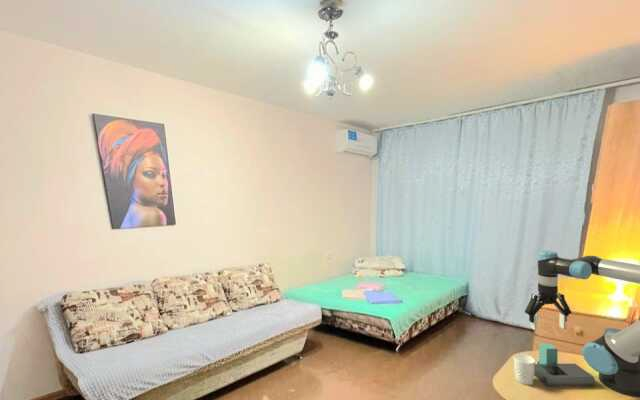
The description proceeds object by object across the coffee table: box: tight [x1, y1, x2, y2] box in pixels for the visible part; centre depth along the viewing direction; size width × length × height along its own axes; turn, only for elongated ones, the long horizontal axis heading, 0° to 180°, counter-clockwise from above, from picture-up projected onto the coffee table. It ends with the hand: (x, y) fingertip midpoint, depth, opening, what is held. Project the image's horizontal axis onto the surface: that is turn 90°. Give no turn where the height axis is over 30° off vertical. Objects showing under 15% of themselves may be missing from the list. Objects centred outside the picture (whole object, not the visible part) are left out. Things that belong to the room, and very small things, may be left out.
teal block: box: [538, 342, 558, 364], centre depth 145 cm, size 5×5×10 cm
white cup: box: [513, 353, 536, 386], centre depth 136 cm, size 8×8×10 cm
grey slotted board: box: [534, 363, 595, 388], centre depth 136 cm, size 20×10×4 cm, turn 89°
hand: (548, 328), depth 144 cm, fingers open, 13 cm apart
